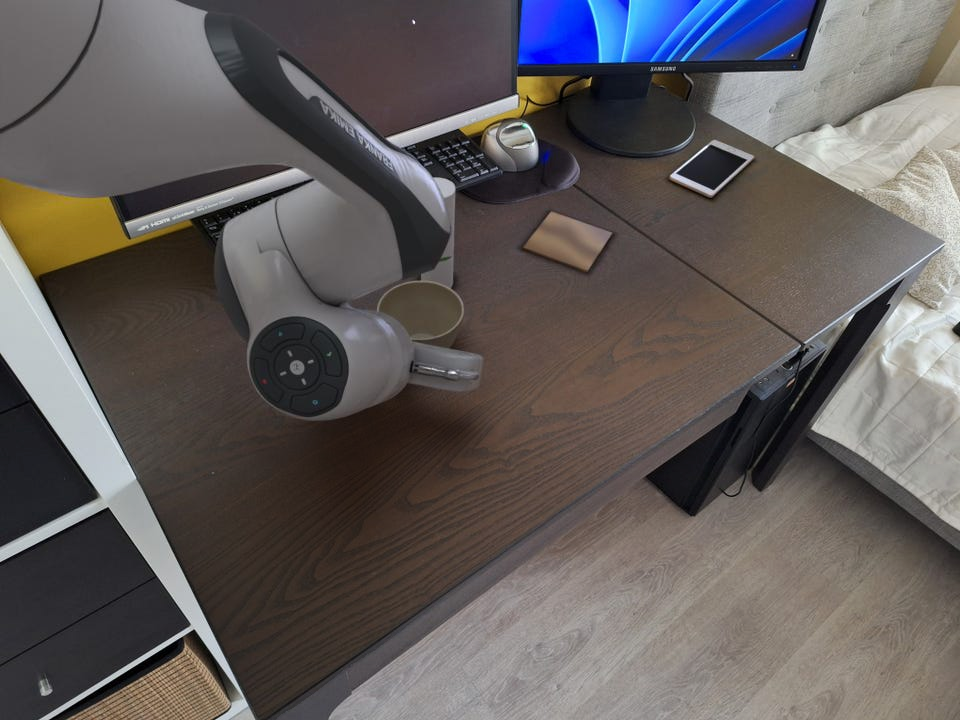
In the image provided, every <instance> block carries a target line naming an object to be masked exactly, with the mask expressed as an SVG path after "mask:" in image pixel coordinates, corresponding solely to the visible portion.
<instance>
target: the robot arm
mask: <svg viewBox="0 0 960 720" xmlns="http://www.w3.org/2000/svg"><path fill="white" fill-rule="evenodd" d="M258 165H277V166H284V167H291V168H294V169H296V170H299V171H301V172H303V173H304V174H305V175H307V176H309V177H310V178H311V179H312V180H311V181H310V182H307V183H305V184H303V185H301V186H299V187H297V188H295V189H292V190H291V191H288V192H286V193H284V194H282V195H278V196H276V197H274V198H272V199H270V200H268V201H266V202H263V203H261V204H258V205H256V206H255V207H253V208H250V209H249V210H247V211H244V212H242V213H241V214H239V215H236V216H234V217H233V218H230V219H228V220H226V221H225V223H224V224H223V226H222V228H221V229H220V233H219V235H218V239H217V242H216V247H215V252H214V262H213V279H214V283H215V287H216V290H217V294H218V297H219V300H220V302H221V305H222V307H223V309H224V311H225V313H226V315H227V317H228V319H229V321H230V322H231V324H232V325H233V327H234V329H235V331H236V332H237V333H238V335H239V336H240V337H241V338H242V340H244V341H245V342H246V343H247V348H246V367H247V373H248V375H249V377H250V380H251V382H252V385H253V387H254V389H255V390H256V392H257V394H258V395H259V396H260V397H261V398H262V399H263V401H265V402H266V403H267V404H268V405H269V406H270V407H272V408H274V409H275V410H276V411H279V412H280V413H281V414H284V415H285V416H288V417H290V418H292V419H297V420H302V421H306V422H307V421H310V422H321V421H322V422H323V421H331V420H333V421H334V420H337V419H342V418H346V417H348V416H352V415H354V414H357V413H359V412H361V411H364V410H365V409H368V408H372V407H374V406H376V405H379V404H382V403H384V402H386V401H389V400H391V399H393V398H394V397H396V396H397V395H398V394H400V393H401V391H402V390H404V388H405V387H406V386H407V384H410V385H415V386H421V387H425V388H431V389H436V390H440V391H444V392H445V391H447V392H454V393H455V392H456V393H468V392H472V391H473V392H474V391H476V390H478V388H479V387H480V382H481V378H482V374H483V368H484V360H485V359H484V357H483V356H482V355H480V354H478V353H474V352H469V351H464V350H458V349H454V348H444V347H438V346H433V345H428V344H423V343H418V342H412V340H411V338H410V336H409V334H408V332H407V331H406V329H405V328H404V327H403V325H402V324H401V323H400V322H398V321H397V320H396V319H395V318H393V317H391V316H390V315H388V314H385V313H383V312H379V311H377V310H373V309H364V308H355V307H352V306H351V304H350V303H351V302H353V301H355V300H357V299H360V298H362V297H365V296H366V295H369V294H371V293H373V292H376V291H378V290H380V289H383V288H385V287H387V286H390V285H392V284H394V283H397V282H399V281H400V280H401V281H405V280H408V279H411V278H414V277H417V276H419V275H420V276H421V274H423V273H426V272H428V271H431V270H434V269H435V267H436V266H437V264H438V262H439V261H440V259H441V257H442V255H443V253H444V251H445V249H446V246H447V244H448V241H449V238H450V235H451V232H452V228H451V223H450V218H449V212H448V209H447V205H446V202H445V200H444V197H443V195H442V193H441V191H440V189H439V187H438V185H437V183H436V182H435V180H434V179H433V178H434V177H433V176H432V174H431V173H430V172H429V171H428V169H426V167H424V166H423V165H422V164H421V163H420V161H419V160H418V159H417V158H416V157H415V156H414V155H413V154H412V153H410V152H408V151H407V150H405V149H403V148H401V147H400V146H398V145H396V144H394V143H393V142H392V141H389V139H388V138H386V137H385V136H383V135H382V134H381V132H379V131H378V130H377V129H376V128H375V127H373V126H372V124H370V123H369V122H368V121H367V120H366V119H365V118H364V117H363V116H362V115H361V114H360V113H358V111H356V110H355V108H353V107H352V106H351V105H350V104H349V103H348V102H347V101H345V99H343V98H342V97H341V96H340V95H339V94H338V93H337V92H335V90H334V89H332V88H331V86H329V85H328V84H327V83H326V82H325V81H324V80H323V79H322V78H320V77H319V76H318V75H317V74H316V73H314V71H313V70H311V69H310V68H309V67H308V66H307V65H306V64H305V63H304V62H302V60H300V59H299V58H298V57H297V56H296V55H294V53H292V52H291V51H289V50H288V49H287V48H286V47H285V46H283V44H282V43H280V42H279V41H277V40H276V39H275V38H274V37H273V36H271V35H270V34H269V33H267V32H266V31H264V29H262V28H261V27H259V26H258V25H257V24H255V23H254V22H252V21H250V20H249V19H247V18H245V17H244V16H242V15H240V14H234V13H227V12H219V11H207V10H204V9H200V8H197V7H194V6H191V5H188V4H186V3H183V2H180V1H179V0H0V178H2V179H5V180H7V181H10V182H12V183H16V184H19V185H20V186H21V185H22V186H25V187H29V188H32V189H35V190H38V191H42V192H46V193H50V194H53V195H58V196H63V197H68V198H69V197H70V198H77V199H78V198H79V199H98V198H99V199H100V198H110V197H116V196H122V195H128V194H132V193H136V192H140V191H144V190H148V189H151V188H155V187H158V186H163V185H167V184H170V183H173V182H176V181H180V180H184V179H188V178H192V177H195V176H199V175H203V174H209V173H213V172H219V171H223V170H228V169H235V168H242V167H249V166H258Z"/></svg>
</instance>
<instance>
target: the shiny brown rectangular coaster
mask: <svg viewBox="0 0 960 720" xmlns="http://www.w3.org/2000/svg"><path fill="white" fill-rule="evenodd" d="M612 236H613V232H612V231H609V230H605V229H603V228H601V227H598V226H594V225H592V224H588V223H587V222H586V223H585V222H583V221H580V220H578V219H574V218H572V217H569V216H566V215H563V214H560V213H558V212H554V211H550V212H549V213H548V215H547V216H546V217H545V218H544V220H543V221H542V222H541V224H540V225H539V226H538V227H537V229H536V230H535V231H534V233H533V234H532V235H530V237H529V239H528V240H527V241H526V242H525V244H524V245H523V247H522V250H524V251H527V252H530V253H533V254H535V255H537V256H541V257H544V258H545V259H548V260H551V261H554V262H557V263H559V264H561V265H565V266H567V267H570V268H572V269H575V270H578V271H581V272H584V273H586V274H587V273H588V272H589V271H590V269H591V268H592V266H593V265H594V263H595V262H596V260H597V259H598V258H599V256H600V254H601V252H602V251H603V249H604V248H605V246H606V245H607V243H608V242H609V240H610V239H611V238H612Z"/></svg>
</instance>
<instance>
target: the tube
mask: <svg viewBox="0 0 960 720" xmlns="http://www.w3.org/2000/svg"><path fill="white" fill-rule="evenodd" d="M433 179H434V180H435V182H436V183H437V185H438V187H439V189H440V191H441V193H442V195H443V197H444V200H445V202H446V205H447V209H448V212H449V218H450V223H451V228H452V232H451V235H450V238H449V241H448V244H447V246H446V249H445V251H444V253H443V255H442V257H441V259H440V261H439V262H438V264H437V266H436V267H435V269H434V270H431V271H428V272H426V273H423V274H420V281H432V282H437V283H440V284H443V285H445V286H447V287H449V288H451V289H452V287H453V284H454V256H455V255H454V253H455V251H454V249H455V219H456V218H455V211H456V186H455V183H453V181H451V180H449V179H447V178H444V177H433Z"/></svg>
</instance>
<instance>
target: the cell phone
mask: <svg viewBox="0 0 960 720" xmlns="http://www.w3.org/2000/svg"><path fill="white" fill-rule="evenodd" d="M754 159H755V156H754V155H753V154H752V153H751V154H750V153H748V152H746V151H743V150H741V149H738V148H736V147H734V146H731V145H729V144H726V143H724V142H722V141H719V140H718V139H713V140H711V141H710V142H709V143H707V145H704V147H703V148H701V149H700V150H699V151H698V152H697V153H696V154H695V155H693V156H692V157H691V158H689V159H688V160H687V161H686V162H685V163H683V164H682V165H681V166H680V167H678V168H677V169H676V170H675V171H674V172H673V173H671V174H670V175H669V180H671V182H673V183H676V184H678V185H680V186H683V187H685V188H687V189H689V190H692V191H693V192H695V193H698V194H700V195H702V196H705V197H706V198H710V199H711V198H714V196H715V195H716V194H718V193H719V192H720V191H721V190H722V189H723V188H724V187H725V186H726V185H727V184H728V183H729V182H731V181H732V180H733V179H734V178H735V177H736V176H737V175H738V174H739V173H740V172H741V171H742V170H743V169H745V168H746V167H747V166H749V164H750V163H751V162H752V161H753V160H754Z"/></svg>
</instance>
